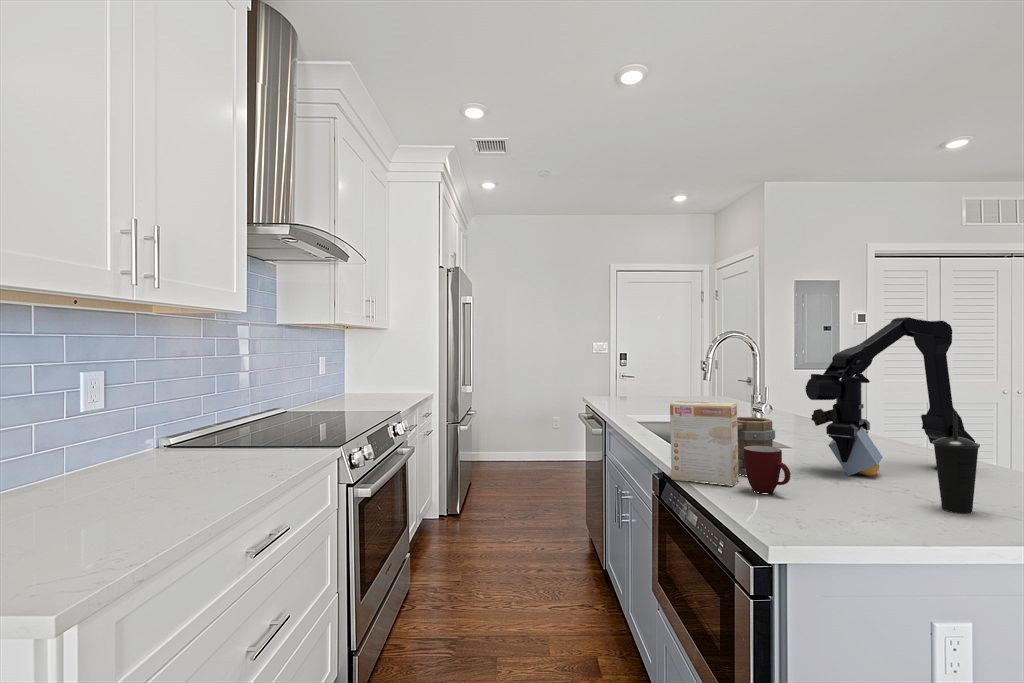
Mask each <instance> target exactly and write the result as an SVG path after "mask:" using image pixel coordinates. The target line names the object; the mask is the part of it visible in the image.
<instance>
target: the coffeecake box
mask: <svg viewBox="0 0 1024 683" xmlns="http://www.w3.org/2000/svg"><path fill="white" fill-rule="evenodd" d="M737 417H738V403H736V402H733V403H732V402H705V401H682V400H681V401H679V400H678V401H675V402H671V403H670V404H669V420H670V423H669V424H670V425H669V426H670V427H669V428H670V429H669V430H670V469H671V470H670V471H671V472H670V473H671V474H670V475H671V476H670V478H671V480H672V481H679V482H688V481H698V482H708V483H717V484H724V485H734V484H735V483H736V482H737V481H738V482H739V475H738V432H737ZM738 482H737V483H738ZM737 483H736V484H737ZM736 484H735V485H736ZM735 485H734V486H735Z"/></svg>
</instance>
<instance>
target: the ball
mask: <svg viewBox="0 0 1024 683" xmlns="http://www.w3.org/2000/svg"><path fill="white" fill-rule="evenodd" d="M879 471H880V463H879V464H878V465H877V466H875V467H872V468H869V469H866V470H863V471H861V472H859V473H860V474H861V475H864V476H866V477H871V476H875V475H876V474H878V472H879Z"/></svg>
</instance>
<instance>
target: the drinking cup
mask: <svg viewBox="0 0 1024 683" xmlns="http://www.w3.org/2000/svg"><path fill="white" fill-rule="evenodd" d="M957 413H958V411H957V410H955V411H953V436H949V437H942V438H939V439H937V440H933V441H932V444H931V445H933V449H934V456H935V463H936V465H937V469H936V472H937V478H938V487H939V494H940V503H941V508H943V509H942V510H944V511H946V510H947V512H950V511H952V513H955V512H957V513H956V514H972V513H973V507H974V497H975V488H976V487H975V486H976V476H977V466H978V465H977V464H978V455H979V449H980V448H981V445H980V443H978V442H976V441H975V442H973V441H971V440H969V439H966V438H962V437H958V433H957ZM971 512H972V513H971Z"/></svg>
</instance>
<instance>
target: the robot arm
mask: <svg viewBox="0 0 1024 683" xmlns="http://www.w3.org/2000/svg"><path fill="white" fill-rule="evenodd" d="M905 336H906V337H910V338H913V341H914V344H915V346H916V348H917V349H918V350H919V351H920V353H921V354H922V356H923V357H922V358H923V363H924V371H925V372H924V373H925V379H926V380H925V381H926V388H927V395H928V402H929V408H928V410H927V411H926V414H923V413H922V414H920V415H921V416H920V418H921V423H922V426H921V429H922V430H924V434H925V435H926V436H927V438H928V441H929V443H930V444H931V445H933V444H932V441H933V440H937V439H939V438H942V437H949V436H953V411H956V409H955V408H954V404H953V396H952V388H951V382H950V374H949V372H950V371H949V366H948V364H949V363H948V357H947V353H948V351H949V350H950V347H951V345H952V344H953V327H952V326H951V324H950V323H948V322H947V321H945V320H926V319H925V320H923V319H917V318H913V317H909V316H908V317H907V316H906V317H895V318H893V319H892V320H891V321H890V323H888V324H886V325H885V326H884V327H882V328H881V329H879V330H878V331H877V332H874V334H872V335H871V336H869V337H868V338H866V339H865V340H864V341H862V342H861V343H859V344H857V345H855V346H852V347H848V348H845V349H843V350H841V351H839V352H837V353H835V354H834V355H833V356H832V358H831V359H832V360H831V362H830V364H829V365H828V367H827V368H826V369H825V371H824V372H823V374H818V373H811V374H810V378H809V379H808V381H807V382H806V385H805V394H806V396H807V398H808V399H810V400H811V401H834V400H835V401H836V402H835V403H833V405H832V409H829V410H823V409H822V408H818V409H815V410H814V409H813V413H812V414H811V421H812V422H814V425H815V427H818V426H821V425H823V424H824V425H825V424H826V423H829V424H827V425H826V428H825V429H826V435H827V436H828V437H829V438H831V439H832V440H834V441H835V442H836V444H837V447H838V450H839V454H840V457H841V461H842V462H845V463H846V462H847V461H848V459H849V456H850V454H851V451H852V449H853V446H854V444H855V442H856V439H857V437H856V436H857V429H858V428H860V427H863V428H864V430H865V431H866V433H867V434H868V435H869V431H871V422H870V421H869V420H868V419H866V418H862V417H863V416H862V413H863V412H862V409H864V404H863V402H862V384H870V382H871V381H870V380H869V379H868V377H867V376H865V375H864V374H863V373H864V372H865V371H866V370H867V369H868V368H869V367H870V366H871V365H872V363H873V361H874V359H875V357H876V356H877V355H879V354H880V353H882V352H883V351H885V350H886V349H887V348H888V347H890V346H892V345H893V344H895V343H896V342H898V341H899V340H901V339H902V338H903V337H905ZM957 433H958V437H962V438H966V439H969V440H971V441H973V442H975V443H976V440H975V439H974V438H973V437H972V436H971V435H970V434H969V432H967V430H965V426H964V423H963V419H962V417H961V416H960V414H959V413H958V412H957ZM934 469H935V470H937V465H936V466H934Z"/></svg>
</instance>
